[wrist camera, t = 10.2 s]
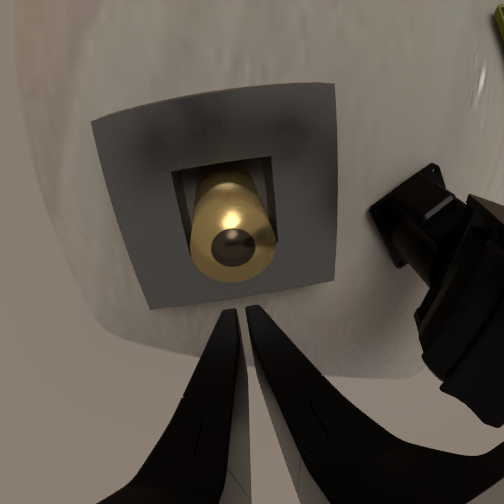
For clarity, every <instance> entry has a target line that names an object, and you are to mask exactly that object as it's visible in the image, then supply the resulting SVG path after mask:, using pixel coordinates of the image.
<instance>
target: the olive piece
mask: <svg viewBox="0 0 504 504" xmlns="http://www.w3.org/2000/svg"><path fill="white" fill-rule="evenodd" d="M495 20H496V22H497V25H498V28H499V31H500V34H501V37H502V40H503V43H504V4H500V5H499V6H498V7H497V9H496V11H495Z"/></svg>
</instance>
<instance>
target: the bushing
mask: <svg viewBox="0 0 504 504" xmlns="http://www.w3.org/2000/svg"><path fill="white" fill-rule="evenodd" d="M275 248H276V239H275V235H274V232H273V229H272V226H271V224H270V221H269V219H268V216H267V214H266V211H265V209H264V206H263V204H262V201H261V199H260V196H259V194H258V191H257V189H256V186H255V184H254V181H253V179H252V177H251V175H250V173H249V172H248V171H247V170H246V169H245V168H244V167H243V166H241V165H239V164H237V163H234V162H223V163H217V164H212V165H210V166H209V167H207V168H206V169H205V170H204V171H203V172H202V174H201V175H200V177H199V179H198V182H197V188H196V196H195V204H194V213H193V222H192V231H191V241H190V252H191V256H192V259H193V261H194V263H195V265H196V266H197V268H198V269H199V270H200V271H201V272H202V273H204V274H205V275H207V276H208V277H210V278H212V279H215V280H218V281H222V282H241V281H245V280H248V279H251V278H253V277H255V276H256V275H258V274H259V273H261V272H262V271H263V270H264V269H265V268H266V267H267V266H268V265H269V263H270V262H271V260H272V258H273V256H274V253H275Z"/></svg>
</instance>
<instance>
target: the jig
mask: <svg viewBox="0 0 504 504" xmlns="http://www.w3.org/2000/svg"><path fill="white" fill-rule="evenodd" d="M91 125H92V129H93V134H94V138H95V142H96V147H97V151H98V155H99V159H100V163H101V167H102V170H103V174H104V178H105V181H106V185H107V188H108V192H109V195H110V199H111V202H112V205H113V209H114V212H115V215H116V218H117V221H118V224H119V227H120V230H121V233H122V236H123V239H124V242H125V245H126V248H127V251H128V254H129V256H130V259H131V262H132V265H133V267H134V270H135V273H136V275H137V278H138V281H139V283H140V286H141V288H142V291H143V293H144V296H145V298H146V301H147V303H148V306H149V308H150V310H153V309H161V308H168V307H176V306H183V305H190V304H197V303H204V302H211V301H218V300H224V299H231V298H237V297H243V296H249V295H256V294H262V293H268V292H274V291H279V290H285V289H291V288H297V287H302V286H308V285H313V284H318V283H324V282H329V281H334V275H335V257H336V236H337V196H338V159H337V121H336V100H335V84H331V83H316V82H313V83H288V84H273V85H261V86H251V87H242V88H234V89H226V90H219V91H212V92H206V93H200V94H194V95H188V96H183V97H178V98H173V99H168V100H163V101H159V102H154V103H150V104H146V105H142V106H138V107H134V108H130V109H126V110H123V111H119V112H115V113H112V114H109V115H106V116H104V117H101V118H98V119H96V120H93V121H91ZM258 157H263V161H264V171H265V181H266V191H267V202H268V213H269V221H270V224H271V226H272V229H273V232H274V235H275V239H276V248H275V253H274V256H273V258H272V260H271V262H270V263H269V265H268V266H267V267H266V268H265V269H264V270H263V271H262V272H261V273H259V274H258V275H256V276H255V277H253V278H251V279H248V280H245V281H241V282H222V281H218V280H215V279H212V278H210V277H208V276H207V275H205V274H204V273H202V272H201V271H200V270H199V269H198V268H197V266H196V265H195V263H194V261H193V259H192V256H191V252H190V241H191V231H192V227H191V222H190V218H189V213H188V209H187V204H186V199H185V195H184V190H183V185H182V180H181V175H180V170H182V169H187V168H193V167H199V166H204V165H210V164H217V163H223V162H230V161H236V160H243V159H251V158H258Z"/></svg>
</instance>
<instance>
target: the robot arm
mask: <svg viewBox="0 0 504 504" xmlns="http://www.w3.org/2000/svg"><path fill="white" fill-rule="evenodd" d="M433 169H434V171H433ZM432 171H433V172H432ZM466 203H467V204H465V203H464V202H462V201H461V200H459V199H458V198H456V197H455V195H454V194H453V193H451V192H450V191H448V190H447V189H446V187H445V184H444V180H443V177H442V174H441V171H440V168H439V166H438V165H436V164H434V163H431V164H429V165H428V166H426V167H425V168H423V169H422V170H421V171H419V172H418V173H416V174H414V175H413V176H412V177H410V178H409V179H407V180H406V181H405V182H403V183H402V184H400V185H399V186H398V187H396V188H395V189H393V190H392V192H390V193H389V194H387V195H386V196H384V197H383V198H382V199H380V200H379V201H377V202H376V203H375V204H373V205H372V206H371V207H370V209H369V214H370V216H371V218H372V220H373V222H374V224H375V226H376V228H377V230H378V232H379V234H380V236H381V238H382V240H383V242H384V244H385V246H386V248H387V251H388V253H389V255H390V257H391V259H392V261H393V264H394V265H395V266H396V267H397V268H402V267H403V266H405V265H406V264H408V263H409V264H410V265H411V267H412V268H413V269H414V270H415V271H416V272H417V274H418V275H419V276H420V277H421V278H422V280H423V281H424V282H425V283H426V284H427V286H428V287H429V288H430V289H429V290H428V292H427V294H426V296H425V298H424V300H423V302H422V304H421V305H420V307H419V308H417V310H416V312H415V313H414V318H415V321H416V325H417V329H418V332H419V340H420V343H421V346H422V349H423V354H422V359H423V361H424V363H425V364H426V366H427V367H428V368H429V370H430V371H431V372H432V373H433V374H434V375H435V376H436V377H437V378H438V379H439V380H441V381H442V382H443V383H442V385H441V386H440V390H441V391H442V392H444V393H446V394H449V395H451V396H454V397H456V398H457V399H459V400H460V401H461V402H463V403H465V404H466V405H467V406H468V407H469V408H470V409H471V410H472V411H473V412H474V413H475V414H476V415H477V417H478V418H479V419H480V420H481V421H482V422H483V423H484V424H487V425H490V426H493V427H496V428H500V427H501V426H503V425H504V206H503V205H500V204H497V203H495V202H492V201H489V200H486V199H483V198H480V197H478V196H475V195H472V194H469V195H468V198H467V201H466ZM376 210H378V212H377V213H375V211H376ZM245 310H246V316H247V322H248V328H249V334H250V340H251V346H252V351H253V357H254V363H255V368H256V373H257V377H258V381H259V384H260V387H261V390H262V393H263V396H264V399H265V402H266V405H267V408H268V411H269V414H270V417H271V420H272V423H273V426H274V429H275V432H276V435H277V438H278V441H279V444H280V447H281V450H282V453H283V455H284V459H285V461H286V464H287V467H288V470H289V473H290V475H291V478H292V481H293V484H294V487H295V489H296V492H297V495H298V498H299V500H300V503H301V504H504V442H502V443H501V444H499V445H498V446H497V447H495V448H494V449H492V450H491V451H489V452H487V453H486V454H482V455H478V456H464V455H459V454H454V453H449V452H444V451H440V450H435V449H431V448H427V447H423V446H419V445H415V444H411V443H408V442H405V441H403V440H401V439H399V438H397V437H395V436H394V435H392V434H391V433H389V432H388V431H387V430H385V429H384V428H383V427H381V426H380V425H378V424H377V423H376V422H375V421H373V420H372V419H371V418H370V417H368V416H367V415H366V414H365V413H363V412H362V411H361V410H359V409H358V408H357V407H356V406H355V405H353V404H352V403H351V402H350V401H349V400H347V399H346V398H345V397H344V396H343V395H342V394H341V393H340V392H339V391H338V390H337V389H336V388H335V387H334V386H333V385H332V384H331V383H330V382H329V381H328V380H327V379H326V378H325V377H324V376H322V374H321V373H320V372H319V370H318V369H317V368H316V367H315V366H314V365H313V364H312V363H311V362H310V361H309V360H308V359H307V357H306V356H305V355H304V354H303V353H302V352H301V351H300V350H299V349H298V348H297V346H296V345H295V344H294V343H293V342H292V341H291V340H290V339H289V338H288V337H287V335H286V334H285V333H284V332H283V331H282V330H281V329H280V328H279V327H278V325H277V324H276V323H275V322H274V321H273V320H272V319H271V318H270V316H269V315H268V314H267V313H266V312H265V311H264V310H263V309H262V307H261V306H260V305H251V306H247V307H246V308H245ZM97 504H252V502H251V470H250V435H249V398H248V374H247V367H246V361H245V355H244V348H243V342H242V335H241V329H240V324H239V319H238V314H237V310H236V309H235V308H233V309H226V310H223V311H222V312H221V315H220V317H219V319H218V321H217V323H216V325H215V327H214V330H213V332H212V334H211V336H210V338H209V340H208V342H207V345H206V347H205V349H204V351H203V353H202V355H201V358H200V360H199V362H198V364H197V366H196V368H195V371H194V373H193V375H192V377H191V379H190V381H189V383H188V385H187V388H186V390H185V392H184V394H183V398H181V400H180V403H179V405H178V407H177V409H176V411H175V413H174V415H173V417H172V419H171V421H170V423H169V424H168V426H167V428H166V430H165V431H164V433H163V434H162V436H161V438H160V439H159V441H158V442H157V444H156V445H155V447H154V449H153V450H152V452H151V453H150V455H149V456H148V458H147V459H146V461H145V462H144V464H143V465H142V467H141V468H140V470H139V471H138V473H137V474H136V476H135V477H134V478H133V479H132V480H131V481H130V482H129V483H128V484H127V485H125V486H124V487H123V488H121V489H120V490H118V491H116V492H115V493H114V494H112V495H110V496H108V497H107V498H105V499H103V500H102V501H100V502H98V503H97Z"/></svg>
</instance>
